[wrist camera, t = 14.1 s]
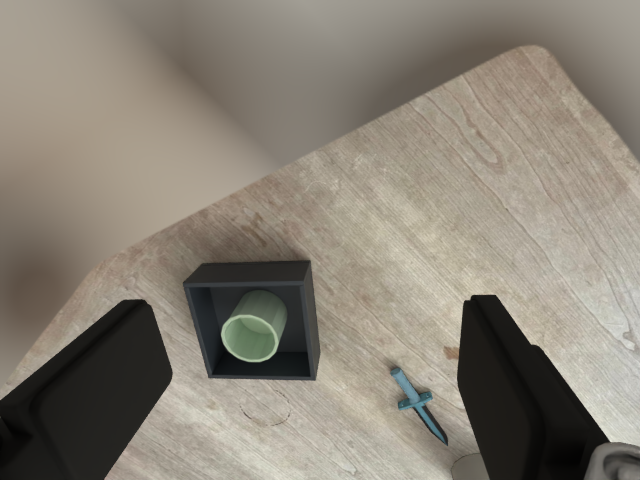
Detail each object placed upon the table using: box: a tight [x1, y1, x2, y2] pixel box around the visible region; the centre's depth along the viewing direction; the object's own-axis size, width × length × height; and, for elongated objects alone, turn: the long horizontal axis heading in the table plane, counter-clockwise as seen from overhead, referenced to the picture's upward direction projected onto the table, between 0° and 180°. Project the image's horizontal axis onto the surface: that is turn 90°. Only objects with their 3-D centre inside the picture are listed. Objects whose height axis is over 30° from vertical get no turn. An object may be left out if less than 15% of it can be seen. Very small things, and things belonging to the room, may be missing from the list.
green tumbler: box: [221, 290, 288, 362], centre depth 41 cm, size 7×7×6 cm
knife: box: [390, 368, 448, 446], centre depth 47 cm, size 17×1×5 cm
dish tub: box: [183, 261, 320, 381], centre depth 42 cm, size 14×14×5 cm
